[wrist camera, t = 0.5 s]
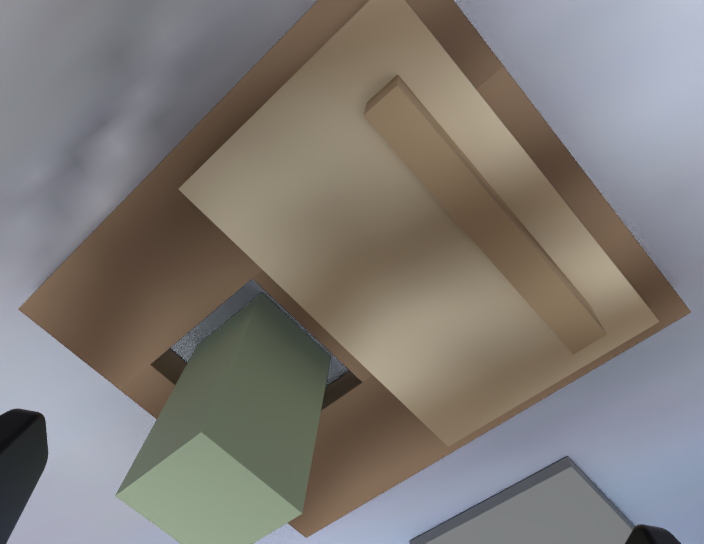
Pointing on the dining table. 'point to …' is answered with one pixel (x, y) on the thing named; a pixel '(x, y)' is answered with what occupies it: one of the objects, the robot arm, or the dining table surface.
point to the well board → (238, 268)
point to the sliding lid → (417, 227)
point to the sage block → (234, 433)
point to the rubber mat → (539, 514)
